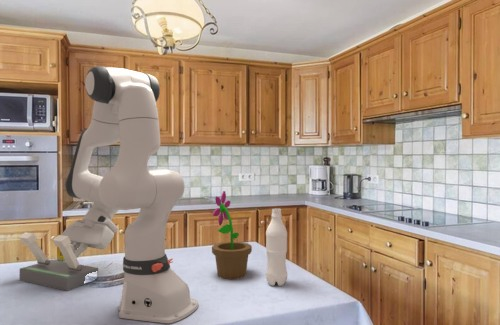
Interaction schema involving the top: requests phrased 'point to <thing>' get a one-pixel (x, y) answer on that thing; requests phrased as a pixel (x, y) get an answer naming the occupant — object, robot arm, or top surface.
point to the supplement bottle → (60, 255)
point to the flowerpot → (229, 247)
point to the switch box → (55, 275)
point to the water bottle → (276, 250)
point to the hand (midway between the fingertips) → (72, 256)
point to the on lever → (34, 247)
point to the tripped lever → (67, 252)
